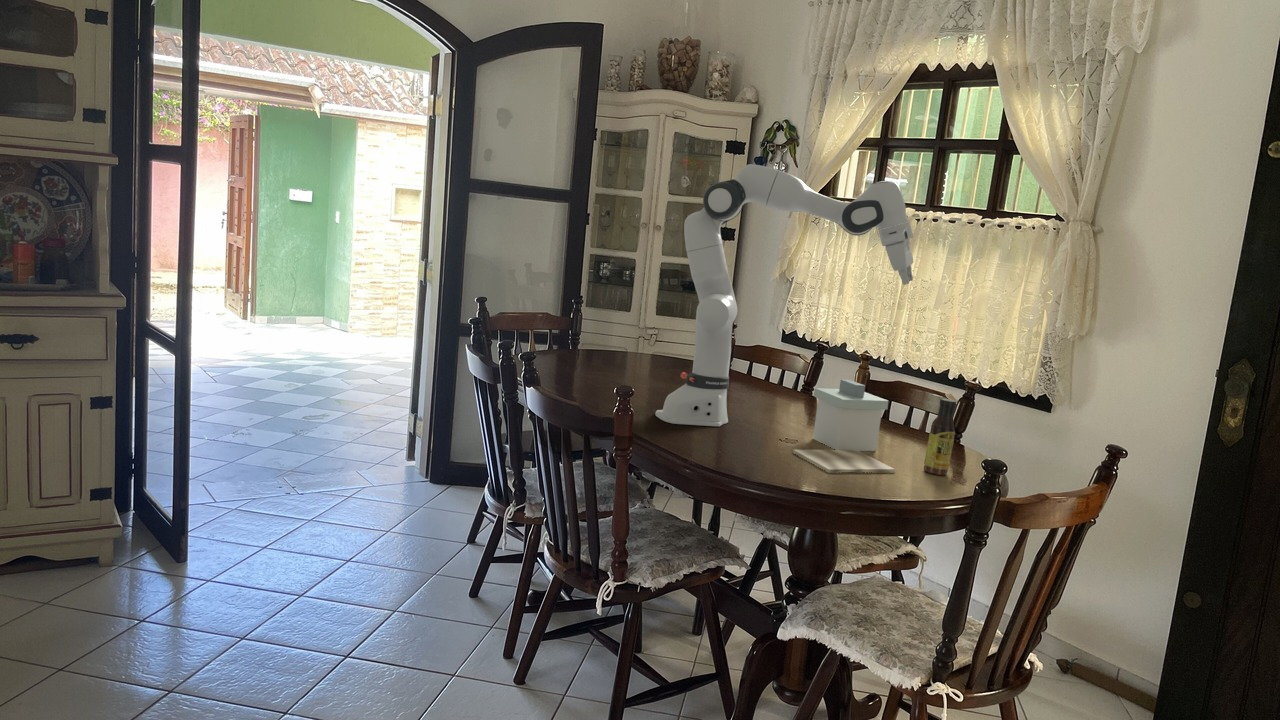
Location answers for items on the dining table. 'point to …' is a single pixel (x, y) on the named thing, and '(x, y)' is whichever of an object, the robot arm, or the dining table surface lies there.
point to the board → (843, 461)
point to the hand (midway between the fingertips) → (908, 282)
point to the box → (847, 427)
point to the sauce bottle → (941, 439)
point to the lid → (851, 396)
